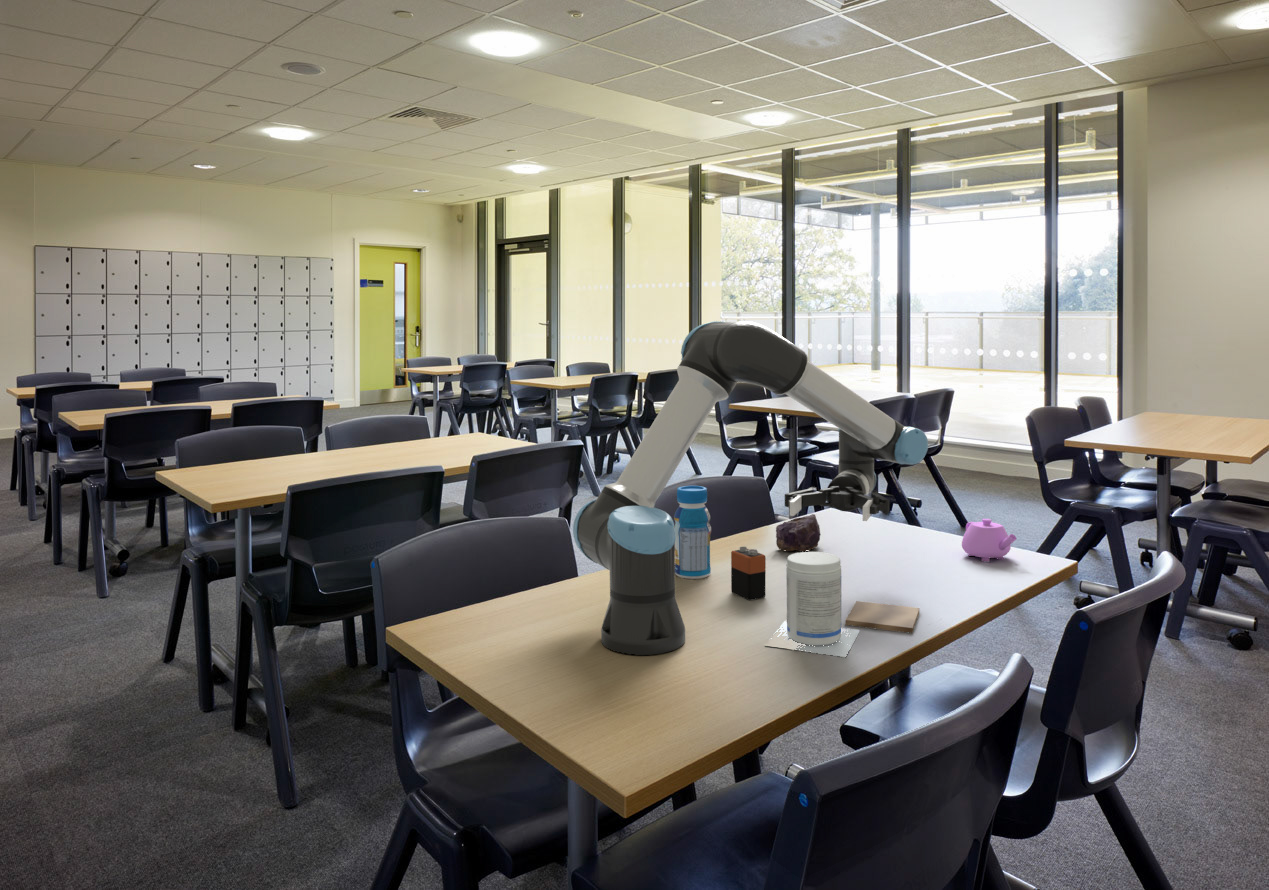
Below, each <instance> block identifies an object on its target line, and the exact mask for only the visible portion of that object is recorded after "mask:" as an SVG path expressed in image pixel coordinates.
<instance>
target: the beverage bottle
mask: <svg viewBox="0 0 1269 890" xmlns="http://www.w3.org/2000/svg"><path fill="white" fill-rule="evenodd" d="M707 489H708V488H707V487H704V486H703V485H702V486H700V485H684V486H679V487H677V490H676V498H677V499H676V500H677V503H678V504H679V506H678V507H677V509H676V510H675V512H674V516H673V519H674V520H673V521H675V522H674V532H675V537H676V539H675V576H677V577H679V578H682V579H686V580H699V579H700V580H701V579H705V578H708V577H709V576H710V575H711V573H712V572H711V570H712V568H711V567H712V566H711V533H712V526H711V524H710V521H711V514H710V511H709V510H708V508H707V507H706V505H705V504H707V501H708V490H707Z"/></svg>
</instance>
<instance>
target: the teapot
mask: <svg viewBox="0 0 1269 890" xmlns="http://www.w3.org/2000/svg"><path fill="white" fill-rule="evenodd" d="M1016 540H1017V536H1016V535H1014V533H1010V534H1008V533H1007V531H1006V529H1005V527H1004V525H1002V524H1000V523H998V522H993V519H991V518H982V519H981V521H976V522H975V521H969V522H967V523H966V525H965V532H964V534H963V537H962V540H961V548H962V549H963V551H964V553H966V554H967V555H968V556H975V557H977V558H978V557H979V558H981V559H980V560H982V562H984V561H989V562H990V560H991V559H993V558H995V559H996V558H998V559H997V560H1004V559H1005V556H1007V554H1008V553H1010V550H1011V546H1012V544H1013V543H1014V542H1015V541H1016ZM968 556H967V557H968Z"/></svg>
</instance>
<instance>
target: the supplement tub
mask: <svg viewBox="0 0 1269 890" xmlns="http://www.w3.org/2000/svg"><path fill="white" fill-rule="evenodd" d="M786 559H787V560H786V575H785V576H786V621H787V634H788V636H789V637H790V638H791V639H792V640H793V641H795V642H798V643H801V644H806V645H814V646H819V645H828V644H832V643H834V642H836V641H838V640H839V639H840V637H841V628H842V566H841V558H840V557H839V556H838V555H836V554H832V553H828V552H822V551H808V552H806V551H805V552H801V551H799V552H795V553H791V554H789V555H788V556H787V558H786Z"/></svg>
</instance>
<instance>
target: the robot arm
mask: <svg viewBox="0 0 1269 890" xmlns="http://www.w3.org/2000/svg"><path fill="white" fill-rule="evenodd" d="M680 354H681V361H680V363H679V364H678V366H677V368H676V371H677V375H678V381H677V383H676V384H675V386H674V388H673V390H672V391H671V392H670V394H669V396H668V397H667V400H665V402H664V404H663V405H662V407H661V409H660V410H659V412H658V414H657V415H656V417H655V418H654V421H653V422H652V424H651V426H650V427H649V428H648V430H647V431H646V434H645V435H644V436H643V438H642V440H641V442H640V443H639V445H638V446H637V448H636V450H635V451H634V453H633V455H632V456H631V457H630V459H629V461H628V463H627V464H626V465H625V467H624V469H623V471H622V472H621V474H620V476H619V477H618V479H617V480H616V481H615V482H613V483H610V484H609V483H608V484H605V485H604V487H603V488H602V491H600V493H599V495H598V496H597V498H596V499H594V500H593V499H592V500H591V501H589V502H588V501H587V502H586V503H585V504H584V505H583V506H581V508H580V509H579V510H578V511H577V514H576V515H575V517H574V520H573V525H572V534H573V540H574V542H575V544H576V547H577V548H578V549H579V551H580V552H581V553H582V554H583V555H584V556H585V557H586V558H587V559H588V560H590V561H592V562H593V563H595V564H597V565H599V566H602V568H604V569H606V570H608V571H609V602H608V605H607V608H606V610H605V611H606V612H605V613H604V619H603V622H602V625H601V629H600V641H601V644H602V646H603V647H605V646H606V647H607V648H606V647H605V648H606V649H608V648H609V649H608V650H610V649H612V650H614V651H613V652H615V651H617V652H616V653H619V652H622V653H621V654H624V653H628V654H627V655H631V654H635V655H634V656H651V655H658V654H659V655H660V654H664V653H669V652H672V651H674V650H677V649H680V647H682V646H683V645H684V644H685V643H686V626H685V623H684V620H683V617H682V615H681V611H680V608H679V605H678V602H677V599H676V574H675V539H676V537H675V532H674V526H675V522H674V520H673V518H672V516H671V514H669V513H667V512H666V511H665V510H662V509H659V508H656V507H655V504H656V503H657V501H658V500H659V498H660V496H661V494H662V493H663V491H664V489H666V488H665V487H666V486H667V485H668V483H669V481H670V480H671V478H672V477H673V475H674V473H675V471H676V470H677V468H678V467H679V465H680V463H681V462H682V460H683V458H684V457H685V455H686V453H687V451H688V450H689V449H690V446H691V445H692V443H693V442H694V440H695V438H696V437H697V435H698V434H699V431H700V430H701V428H702V427H703V426H704V424H705V422H706V420H707V418H708V416H709V415H710V413H711V412H712V411H713V408H714V407H715V405H716V403H718V402H721V401H726V400H727V399H729V397H730V395H731V393H732V392H733V390H734V389H735V387H736V386H737V383H739V384H740V383H741V384H742V383H744V384H749V385H755V386H759V387H762V388H764V389H767V390H769V391H770V392H772V393H773V394H774V395H778V396H783V395H786V396H788V397H790V398H791V399H793V400H794V401H796V402H797V403H799V404H800V405H802V406H803V407H805V408H806V409H808V410H810V411H811V412H813V413H814V414H816V415H818V416H819V417H820V418H823V419H824V420H826V421H827V422H829V423H830V424H832V425H833V426H835V427H836V428H838V430H837V432H838V475H836V476H835V477H834V478H833V479H832V480H831V481H830V482H829V484H828V486H827V487H826V488H821V489H819V491H817V487H815V486H811V487H808V488H807V489H802V490H798V491H797V490H796V491H792V492H787V493H784V507H786V508H788V509H789V516H790V517H795V516H796V515H797V514H798V513H799V512H800V511H802V508H806V507H814V506H822V507H833V508H834V509H835V510H838V511H840V512H852V511H854V510H856V509H862V521H863V522H867V521H868V520H869V519H870V518H871V516H872V515H876V514H879V513H880V512H881V513H882V514H889V513H890V499H888V498H886V497H884V496H882V494H879V491H877V490H874V489H875V487H876V484H877V475H876V473H875V460H881V461H885V462H886V461H887V462H891V463H895V464H899V465H911V466H912V465H916V464H919V463H920V462H922V461H923V460H924V458H925V456H926V455H927V452H928V450H929V441H928V436H927V435H926V433H925V432H924V431H923V430H922V429H919V428H917V427H913V426H905V425H903V424H901V423H900V422H899V421H897V420H896V419H894V418H892V417H890V415H888V414H886V413H885V412H884V411H882V410H880V408H878V407H876V406H874V405H873V404H872V403H871V402H869V401H867V400H866V399H864V398H863V397H862V396H860V395H859V394H857V393H856V392H854V391H853V390H852V389H850V388H849V387H847V386H845V385H844V384H842V382H840V381H839V380H837V379H835V378H834V377H833V376H831V375H830V374H828V373H827V372H826V371H824V370H822V369H821V368H820V367H818V366H816V365H815V364H813V363H812V362H810V361H809V357H808V354H807V353H806V351H804V350H803V349H802V348H800V347H799V346H797V345H796V344H794V343H792V342H791V341H789V340H788V339H787V338H785V336H784V337H783V336H782V335H781V334H778V332H776V331H775V330H772V329H770V328H769V327H767V326H765V325H762V324H761V323H757V322H754V321H750V320H748V321H747V320H745V321H741V320H740V321H719V320H718V321H717V320H716V321H715V320H714V321H710V322H706V323H703V324H699V325H698V326H696V327H695V328H693V329H692V330H690V331H689V333H688V334H687V335H686V337H685V338H684V340H683V342H682V345H681V350H680ZM612 650H611V651H612Z"/></svg>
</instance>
